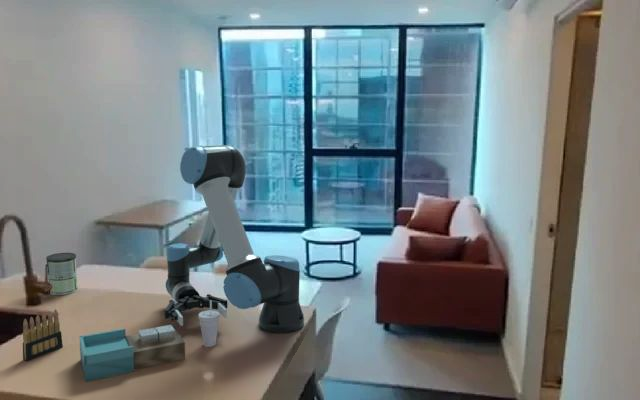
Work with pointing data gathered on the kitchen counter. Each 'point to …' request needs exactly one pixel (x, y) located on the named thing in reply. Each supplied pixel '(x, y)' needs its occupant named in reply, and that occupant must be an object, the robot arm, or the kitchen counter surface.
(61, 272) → the coffee can
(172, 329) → the chip
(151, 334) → the chip
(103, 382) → the kitchen counter surface
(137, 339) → the olive-brown boxy piece
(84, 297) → the kitchen counter surface
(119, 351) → the tray
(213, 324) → the smoothie
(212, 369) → the kitchen counter surface
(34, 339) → the ammunition clip
